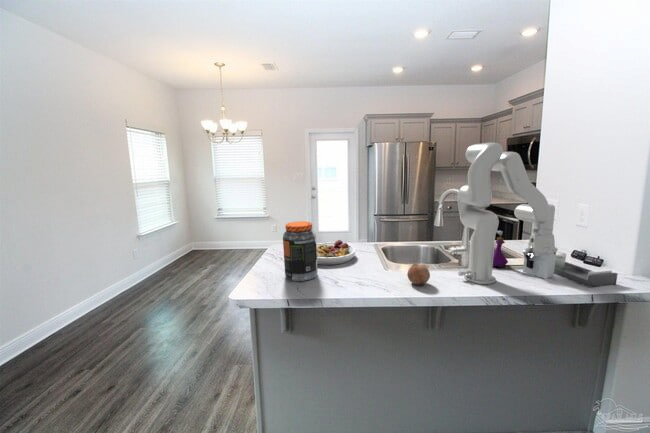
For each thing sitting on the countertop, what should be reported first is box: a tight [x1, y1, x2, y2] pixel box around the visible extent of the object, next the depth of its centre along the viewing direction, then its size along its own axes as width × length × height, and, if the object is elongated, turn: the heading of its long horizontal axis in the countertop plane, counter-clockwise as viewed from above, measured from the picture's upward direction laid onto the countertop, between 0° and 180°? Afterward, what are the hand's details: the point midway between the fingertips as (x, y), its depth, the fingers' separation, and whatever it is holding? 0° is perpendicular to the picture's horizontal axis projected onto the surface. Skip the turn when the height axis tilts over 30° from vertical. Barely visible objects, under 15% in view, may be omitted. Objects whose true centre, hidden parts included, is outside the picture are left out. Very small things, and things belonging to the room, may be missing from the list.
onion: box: [406, 263, 431, 287], centre depth 130 cm, size 10×9×10 cm
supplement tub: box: [282, 220, 318, 282], centre depth 142 cm, size 16×16×26 cm
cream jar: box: [555, 251, 567, 270], centre depth 144 cm, size 7×7×7 cm
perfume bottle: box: [493, 230, 509, 268], centre depth 150 cm, size 8×8×18 cm
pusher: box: [587, 269, 613, 280], centre depth 125 cm, size 10×1×5 cm, turn 99°
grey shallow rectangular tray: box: [554, 261, 618, 288], centre depth 136 cm, size 13×26×5 cm, turn 9°
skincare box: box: [522, 252, 556, 279], centre depth 138 cm, size 10×6×10 cm, turn 29°
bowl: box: [316, 239, 356, 266], centre depth 170 cm, size 30×30×8 cm
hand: (538, 266), depth 139 cm, fingers open, 9 cm apart
